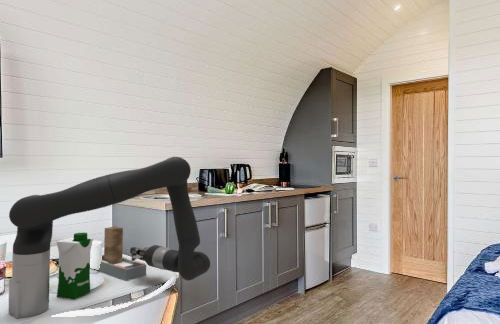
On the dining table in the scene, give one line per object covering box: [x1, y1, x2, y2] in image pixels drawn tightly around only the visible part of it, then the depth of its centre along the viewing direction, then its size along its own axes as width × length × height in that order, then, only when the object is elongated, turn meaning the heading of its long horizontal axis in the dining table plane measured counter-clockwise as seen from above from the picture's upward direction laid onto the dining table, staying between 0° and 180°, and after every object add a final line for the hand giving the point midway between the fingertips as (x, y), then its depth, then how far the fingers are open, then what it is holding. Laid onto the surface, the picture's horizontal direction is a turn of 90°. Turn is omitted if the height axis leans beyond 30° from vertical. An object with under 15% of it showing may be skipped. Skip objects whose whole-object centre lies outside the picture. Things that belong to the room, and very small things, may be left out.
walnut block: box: [103, 226, 124, 265], centre depth 141 cm, size 5×5×14 cm
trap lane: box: [98, 254, 147, 282], centre depth 140 cm, size 9×26×4 cm, turn 53°
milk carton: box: [56, 232, 94, 301], centre depth 114 cm, size 9×9×20 cm
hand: (132, 250), depth 134 cm, fingers closed
